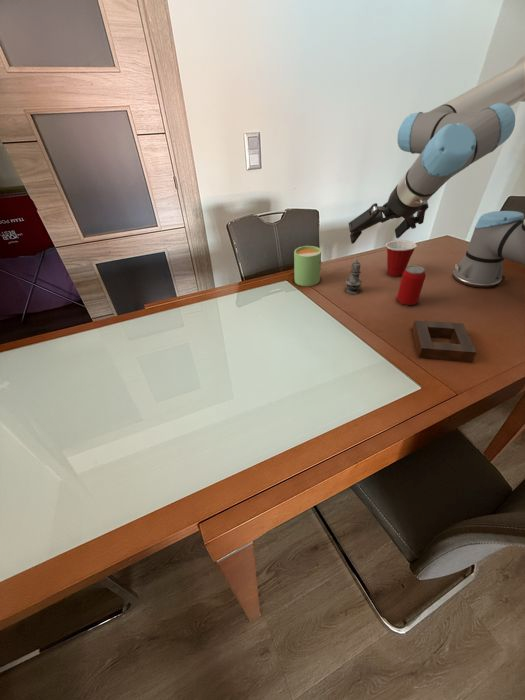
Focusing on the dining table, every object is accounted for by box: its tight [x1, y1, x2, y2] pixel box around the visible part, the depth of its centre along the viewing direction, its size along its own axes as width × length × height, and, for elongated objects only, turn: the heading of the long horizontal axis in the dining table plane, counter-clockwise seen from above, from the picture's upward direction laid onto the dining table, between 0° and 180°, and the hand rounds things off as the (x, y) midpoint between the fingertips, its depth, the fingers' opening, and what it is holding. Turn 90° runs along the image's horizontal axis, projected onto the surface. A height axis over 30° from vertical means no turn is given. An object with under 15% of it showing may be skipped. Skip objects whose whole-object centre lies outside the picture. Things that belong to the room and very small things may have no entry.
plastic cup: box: [385, 239, 418, 278], centre depth 116 cm, size 11×11×12 cm
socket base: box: [411, 319, 477, 363], centre depth 85 cm, size 13×13×4 cm
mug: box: [293, 245, 323, 287], centre depth 118 cm, size 13×10×12 cm
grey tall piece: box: [345, 259, 363, 295], centre depth 109 cm, size 6×6×12 cm
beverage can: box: [396, 264, 426, 306], centre depth 100 cm, size 7×7×12 cm
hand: (374, 236), depth 89 cm, fingers open, 13 cm apart
